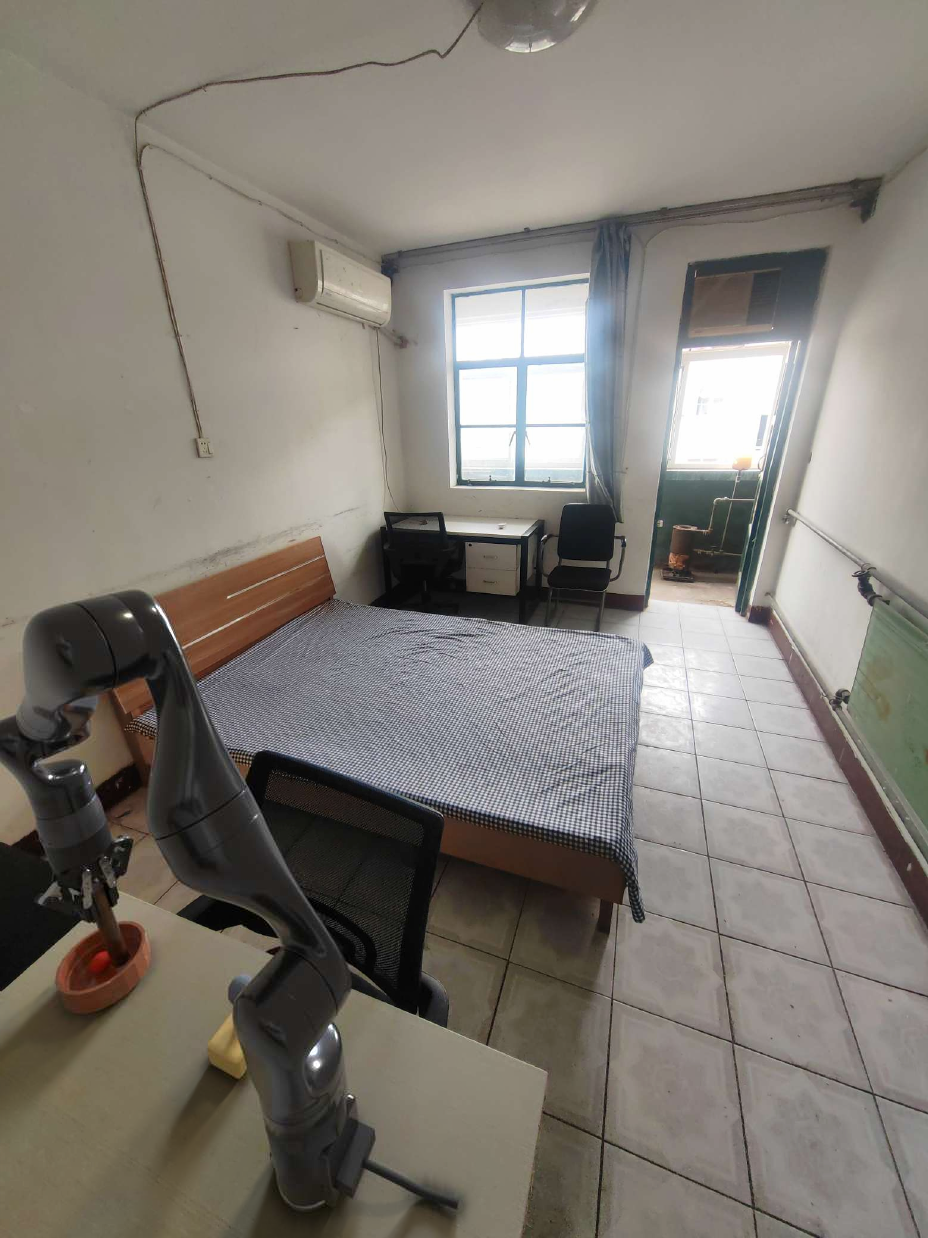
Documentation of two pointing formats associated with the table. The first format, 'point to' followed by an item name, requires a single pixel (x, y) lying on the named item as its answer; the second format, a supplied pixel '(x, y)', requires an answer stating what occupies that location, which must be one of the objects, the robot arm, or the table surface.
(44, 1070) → the table surface
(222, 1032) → the rubber stamp
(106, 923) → the stick
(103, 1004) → the bowl
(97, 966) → the ball
